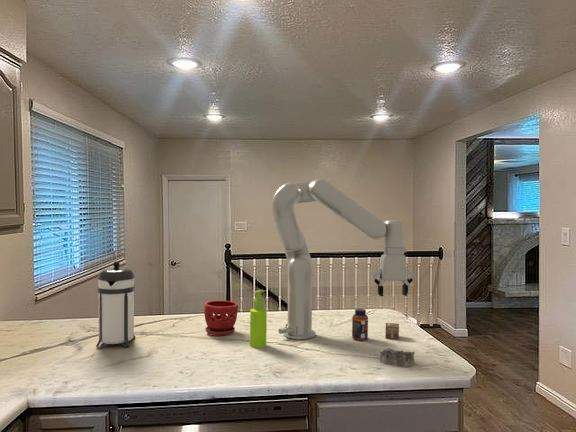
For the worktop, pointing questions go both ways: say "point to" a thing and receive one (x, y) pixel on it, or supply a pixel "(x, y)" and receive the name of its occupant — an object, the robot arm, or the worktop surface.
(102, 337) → the coffee press
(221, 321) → the plant pot
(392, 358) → the egg carton
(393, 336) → the letter t block
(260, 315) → the soap dispenser
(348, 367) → the worktop surface
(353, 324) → the supplement bottle
